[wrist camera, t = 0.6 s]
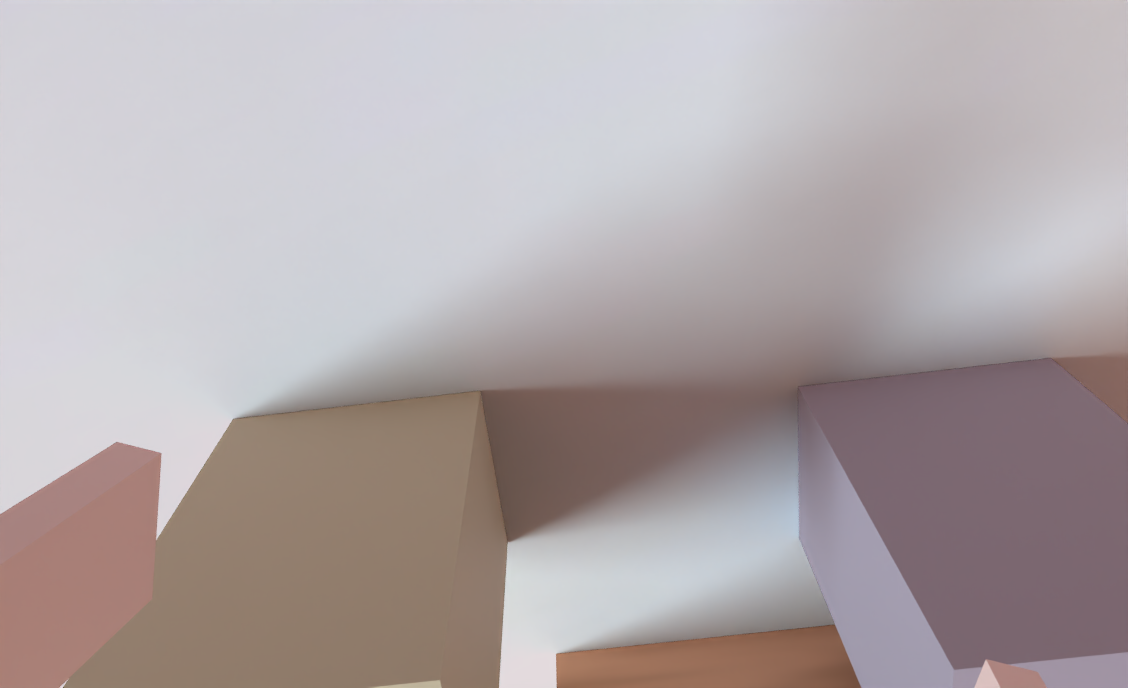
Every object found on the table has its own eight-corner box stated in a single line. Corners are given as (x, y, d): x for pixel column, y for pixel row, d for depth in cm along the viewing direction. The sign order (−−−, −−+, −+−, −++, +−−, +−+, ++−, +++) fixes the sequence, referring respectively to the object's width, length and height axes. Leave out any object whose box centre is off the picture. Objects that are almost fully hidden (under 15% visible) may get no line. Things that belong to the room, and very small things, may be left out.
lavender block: (797, 386, 28) (953, 670, 18) (1050, 357, 28) (1367, 627, 17) (798, 537, 31) (936, 867, 20) (1031, 512, 31) (1297, 833, 20)
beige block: (233, 419, 29) (41, 721, 18) (480, 390, 28) (439, 680, 17) (280, 567, 31) (138, 910, 20) (507, 542, 31) (487, 877, 20)
